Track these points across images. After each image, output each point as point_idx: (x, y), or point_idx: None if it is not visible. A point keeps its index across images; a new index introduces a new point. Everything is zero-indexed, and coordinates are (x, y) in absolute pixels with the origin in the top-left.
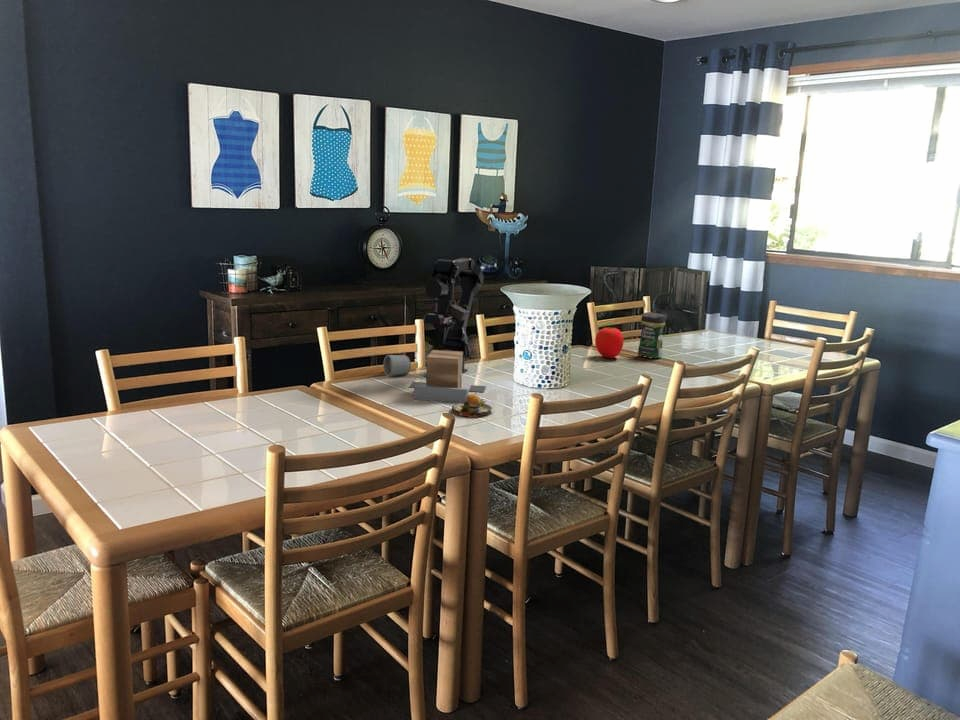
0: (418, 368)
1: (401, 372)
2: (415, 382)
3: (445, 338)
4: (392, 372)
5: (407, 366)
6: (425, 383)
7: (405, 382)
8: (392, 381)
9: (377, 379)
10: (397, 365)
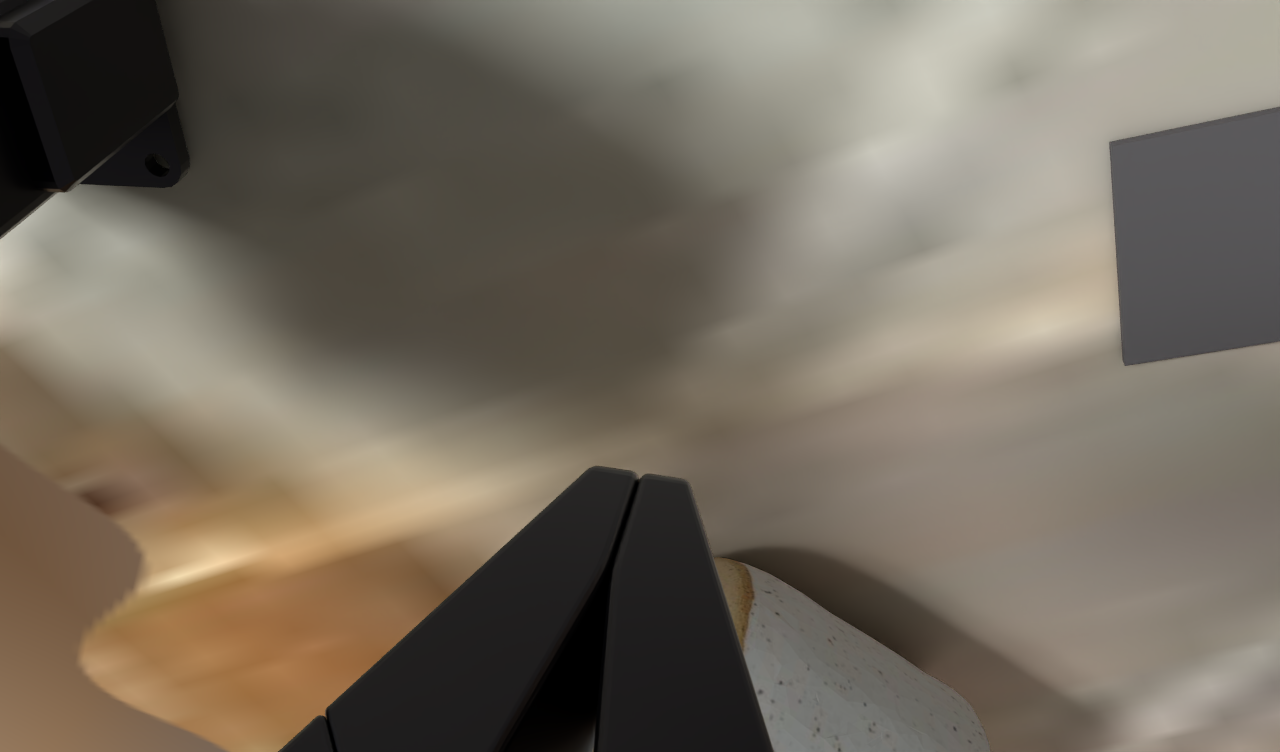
0: (273, 547)
1: (844, 622)
2: (1176, 311)
3: (535, 540)
4: (964, 699)
5: (794, 638)
6: (1202, 146)
7: (1172, 438)
8: (1165, 585)
9: (1111, 735)
10: (933, 745)
